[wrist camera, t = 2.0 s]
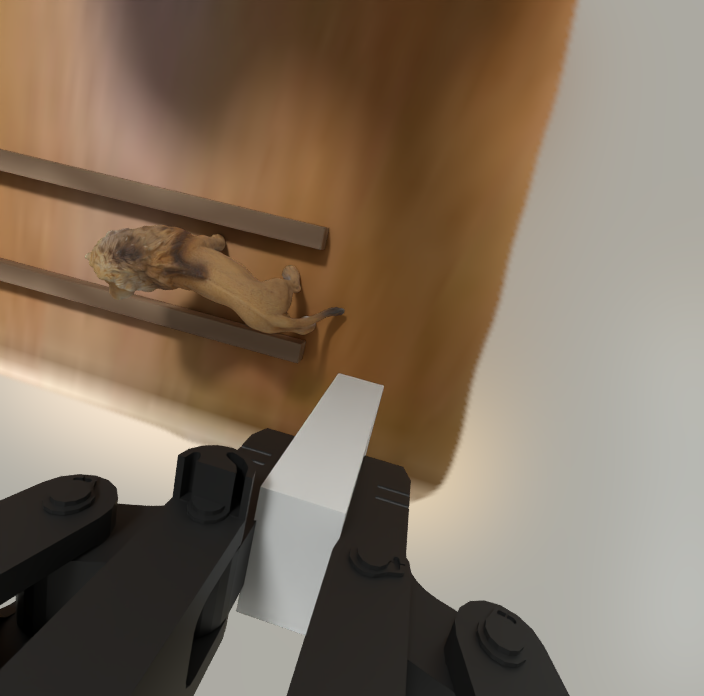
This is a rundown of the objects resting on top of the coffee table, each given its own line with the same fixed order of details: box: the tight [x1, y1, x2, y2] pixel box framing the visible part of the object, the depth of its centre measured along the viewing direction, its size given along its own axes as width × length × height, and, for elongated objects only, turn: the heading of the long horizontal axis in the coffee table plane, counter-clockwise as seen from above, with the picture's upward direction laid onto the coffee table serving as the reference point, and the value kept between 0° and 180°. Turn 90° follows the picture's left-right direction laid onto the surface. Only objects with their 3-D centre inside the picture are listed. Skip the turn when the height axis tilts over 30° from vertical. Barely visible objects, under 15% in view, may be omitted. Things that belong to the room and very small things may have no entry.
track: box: [0, 149, 329, 363], centre depth 31 cm, size 10×32×4 cm, turn 77°
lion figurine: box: [85, 225, 345, 335], centre depth 27 cm, size 15×5×9 cm, turn 74°
